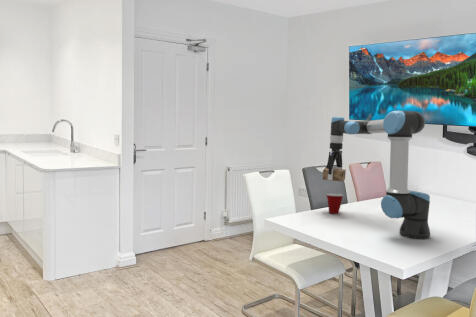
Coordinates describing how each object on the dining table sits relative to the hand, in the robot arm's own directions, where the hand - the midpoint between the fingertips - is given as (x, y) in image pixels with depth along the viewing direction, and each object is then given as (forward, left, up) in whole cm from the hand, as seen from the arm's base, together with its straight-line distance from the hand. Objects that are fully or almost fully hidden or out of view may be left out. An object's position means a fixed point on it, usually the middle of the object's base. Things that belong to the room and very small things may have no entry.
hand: (333, 178), depth 271 cm
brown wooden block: (0, 0, 0) cm, 0 cm away
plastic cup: (0, -4, -22) cm, 23 cm away
